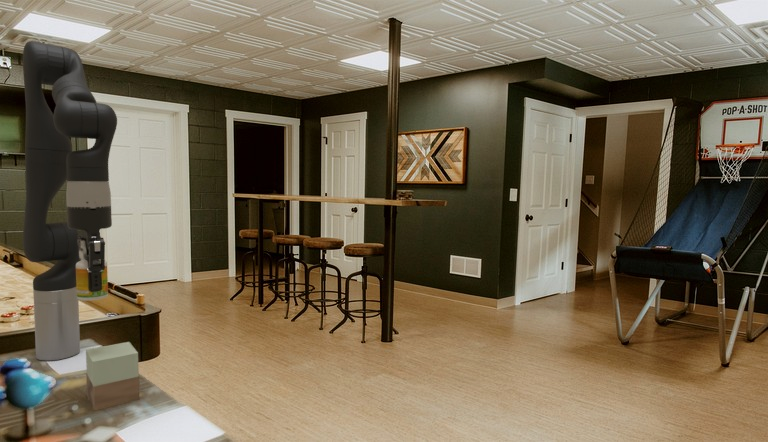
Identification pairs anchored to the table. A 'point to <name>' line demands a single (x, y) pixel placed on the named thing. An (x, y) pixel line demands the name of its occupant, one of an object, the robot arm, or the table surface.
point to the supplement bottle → (82, 281)
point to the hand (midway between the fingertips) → (92, 288)
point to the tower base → (113, 393)
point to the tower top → (111, 363)
